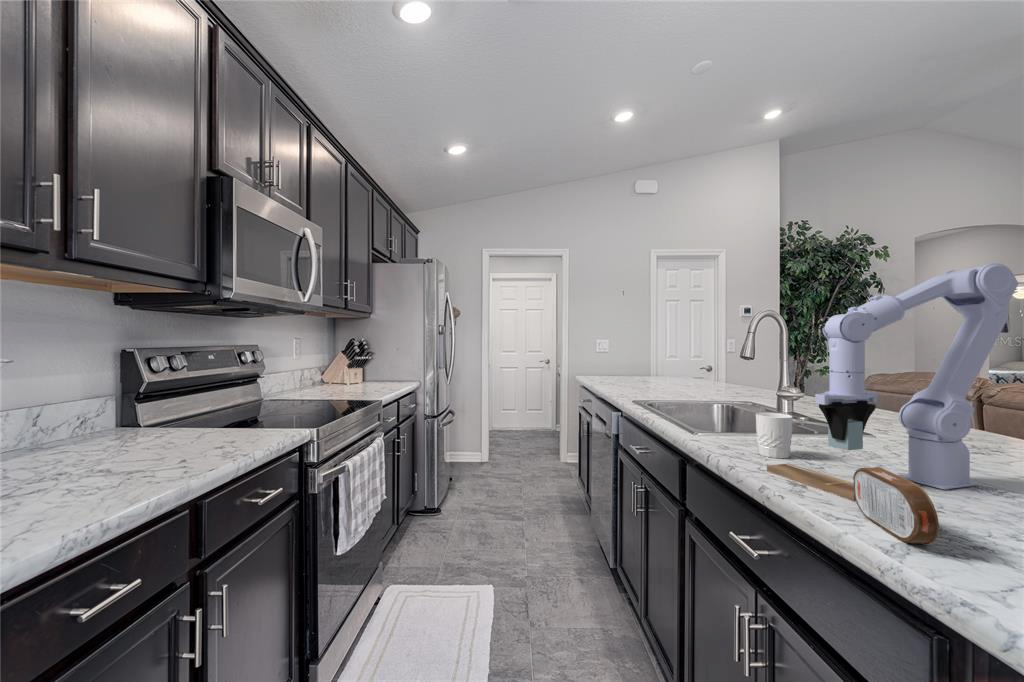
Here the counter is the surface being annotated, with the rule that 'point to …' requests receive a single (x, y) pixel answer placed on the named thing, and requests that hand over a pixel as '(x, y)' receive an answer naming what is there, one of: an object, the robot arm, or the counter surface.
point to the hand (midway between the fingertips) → (846, 438)
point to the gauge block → (849, 437)
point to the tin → (896, 505)
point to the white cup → (774, 434)
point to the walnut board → (815, 479)
